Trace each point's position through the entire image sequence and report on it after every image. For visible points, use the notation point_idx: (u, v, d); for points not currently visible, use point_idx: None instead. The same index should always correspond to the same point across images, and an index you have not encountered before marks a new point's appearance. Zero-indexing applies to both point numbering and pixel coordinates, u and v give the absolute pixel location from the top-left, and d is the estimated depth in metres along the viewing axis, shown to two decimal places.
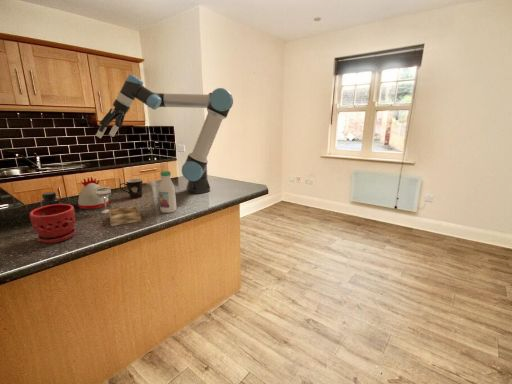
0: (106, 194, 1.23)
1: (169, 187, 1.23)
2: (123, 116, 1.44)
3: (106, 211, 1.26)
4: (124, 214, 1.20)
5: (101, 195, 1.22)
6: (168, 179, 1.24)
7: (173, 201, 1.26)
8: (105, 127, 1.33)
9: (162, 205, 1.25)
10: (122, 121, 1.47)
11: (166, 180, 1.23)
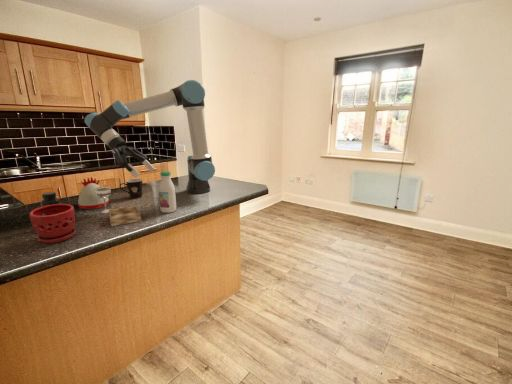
0: (106, 194, 1.23)
1: (169, 187, 1.23)
2: (134, 149, 1.29)
3: (106, 211, 1.26)
4: (124, 214, 1.20)
5: (101, 195, 1.22)
6: (168, 179, 1.24)
7: (173, 201, 1.26)
8: (128, 164, 1.18)
9: (162, 205, 1.25)
10: (141, 153, 1.32)
11: (166, 180, 1.23)
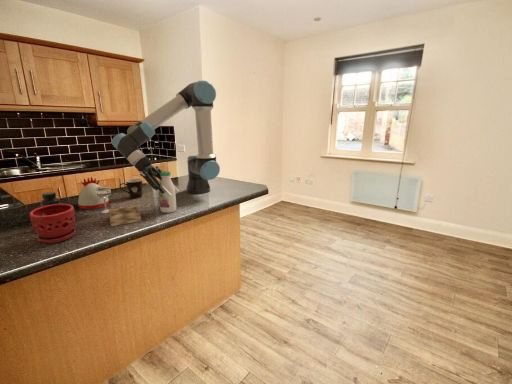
0: (106, 194, 1.23)
1: (169, 187, 1.23)
2: (159, 170, 1.30)
3: (106, 211, 1.26)
4: (124, 214, 1.20)
5: (101, 195, 1.22)
6: (168, 179, 1.24)
7: (173, 201, 1.26)
8: (161, 186, 1.21)
9: (162, 205, 1.25)
10: None
11: (166, 180, 1.23)
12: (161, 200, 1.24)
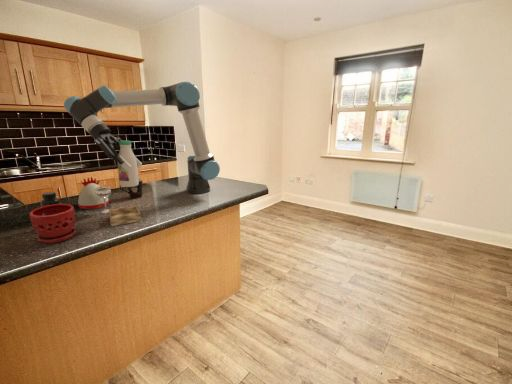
0: (106, 194, 1.23)
1: (129, 158, 1.10)
2: (120, 140, 1.16)
3: (106, 211, 1.26)
4: (124, 214, 1.20)
5: (101, 195, 1.22)
6: (128, 149, 1.10)
7: (134, 174, 1.12)
8: (119, 156, 1.08)
9: (121, 178, 1.11)
10: None
11: (125, 150, 1.09)
12: (120, 172, 1.11)
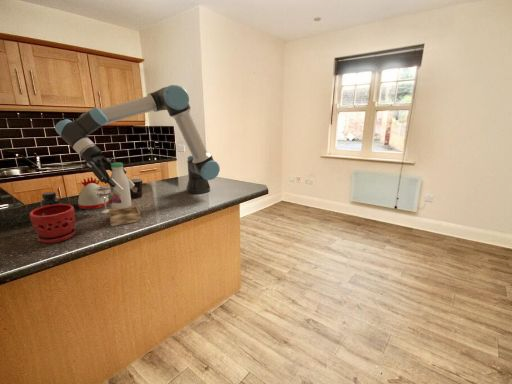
0: (106, 194, 1.23)
1: (121, 180, 1.10)
2: (112, 161, 1.16)
3: (106, 211, 1.26)
4: (124, 214, 1.20)
5: (101, 195, 1.22)
6: (120, 171, 1.10)
7: (126, 196, 1.13)
8: (111, 179, 1.08)
9: (113, 200, 1.11)
10: None
11: (117, 173, 1.09)
12: (112, 195, 1.11)
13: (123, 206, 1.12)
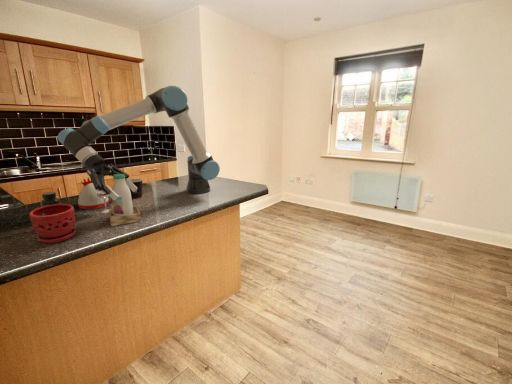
0: (106, 194, 1.23)
1: (123, 191, 1.11)
2: (114, 167, 1.18)
3: (106, 211, 1.26)
4: None
5: (101, 195, 1.22)
6: (122, 183, 1.11)
7: (128, 207, 1.14)
8: (105, 186, 1.06)
9: (116, 211, 1.13)
10: (122, 171, 1.20)
11: (119, 184, 1.11)
12: (114, 206, 1.12)
13: None
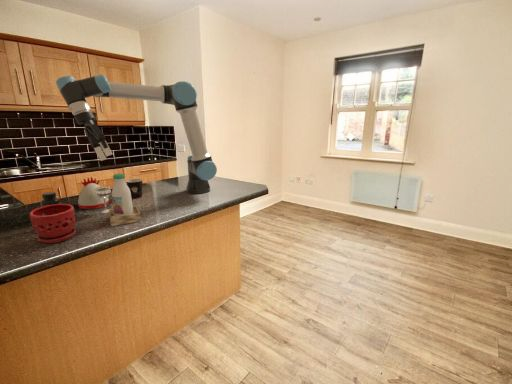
0: (106, 194, 1.23)
1: (123, 191, 1.11)
2: None
3: (106, 211, 1.26)
4: None
5: (101, 195, 1.22)
6: (122, 183, 1.11)
7: (128, 207, 1.14)
8: (104, 140, 1.13)
9: (116, 211, 1.13)
10: None
11: (119, 184, 1.11)
12: (114, 206, 1.12)
13: None
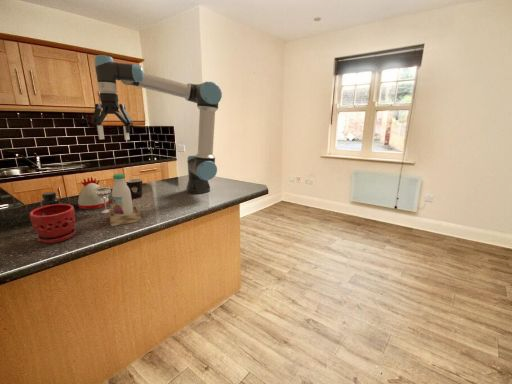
0: (106, 194, 1.23)
1: (123, 191, 1.11)
2: (100, 110, 1.22)
3: (106, 211, 1.26)
4: None
5: (101, 195, 1.22)
6: (122, 183, 1.11)
7: (128, 207, 1.14)
8: None
9: (115, 211, 1.13)
10: None
11: (119, 184, 1.11)
12: (114, 206, 1.12)
13: None
